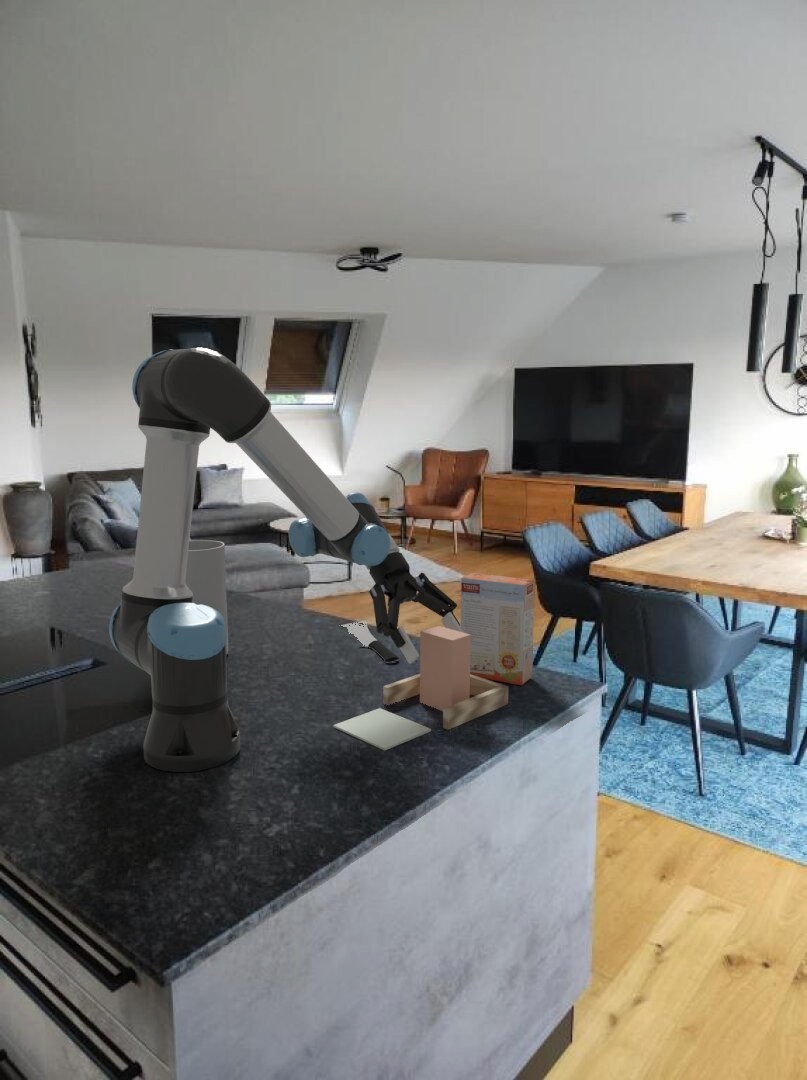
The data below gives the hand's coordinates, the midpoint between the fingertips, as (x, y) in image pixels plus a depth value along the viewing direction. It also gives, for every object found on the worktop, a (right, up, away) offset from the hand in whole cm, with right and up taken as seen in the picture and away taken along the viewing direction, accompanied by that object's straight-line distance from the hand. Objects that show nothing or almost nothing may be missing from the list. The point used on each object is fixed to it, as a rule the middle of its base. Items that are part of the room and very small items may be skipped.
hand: (439, 651), depth 150 cm
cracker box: (+12, -7, +14) cm, 20 cm away
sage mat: (-11, -12, -12) cm, 20 cm away
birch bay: (+1, -10, -1) cm, 10 cm away
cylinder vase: (-52, -5, +26) cm, 59 cm away
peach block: (+1, -10, -1) cm, 10 cm away
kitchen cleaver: (-16, -4, +36) cm, 39 cm away
